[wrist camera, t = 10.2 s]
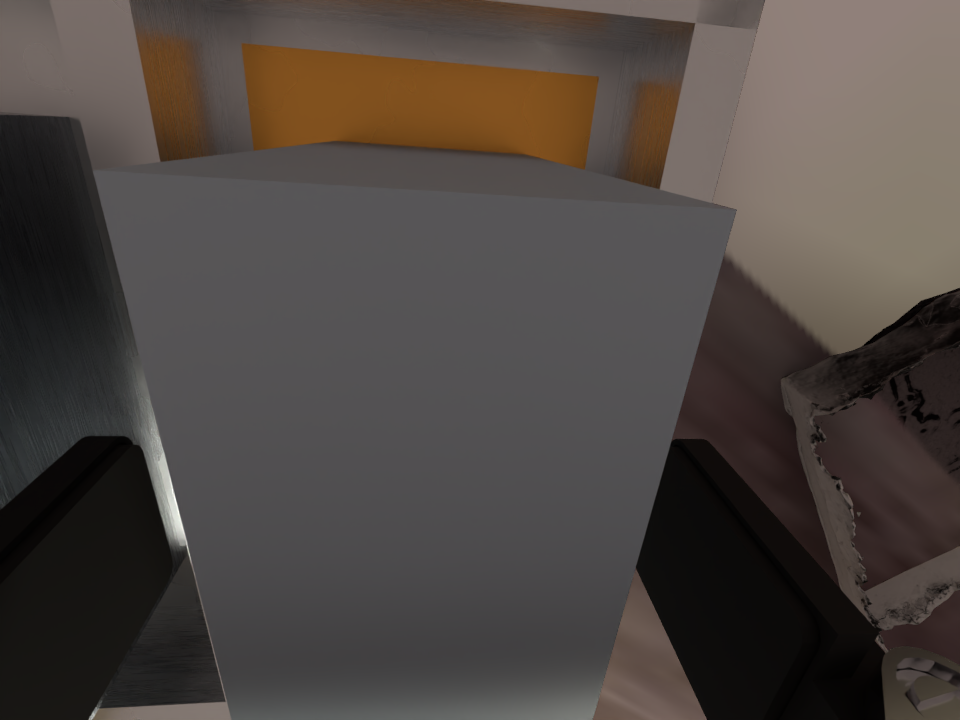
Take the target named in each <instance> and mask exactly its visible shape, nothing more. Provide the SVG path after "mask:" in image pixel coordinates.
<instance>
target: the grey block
mask: <svg viewBox="0 0 960 720" xmlns="http://www.w3.org/2000/svg"><path fill="white" fill-rule="evenodd" d="M93 173H94V177H95V181H96V185H97V189H98V193H99V197H100V201H101V205H102V209H103V213H104V217H105V221H106V224H107V228H108V232H109V236H110V240H111V244H112V248H113V252H114V256H115V260H116V264H117V268H118V272H119V276H120V280H121V284H122V288H123V292H124V296H125V300H126V304H127V308H128V312H129V316H130V320H131V324H132V327H133V331H134V335H135V339H136V343H137V347H138V351H139V355H140V359H141V363H142V367H143V371H144V375H145V379H146V383H147V387H148V391H149V395H150V399H151V403H152V407H153V411H154V415H155V419H156V423H157V427H158V431H159V434H160V438H161V442H162V446H163V450H164V454H165V458H166V462H167V466H168V470H169V474H170V478H171V482H172V486H173V490H174V494H175V498H176V502H177V506H178V510H179V514H180V518H181V522H182V526H183V530H184V534H185V537H186V541H187V545H188V549H189V553H190V557H191V561H192V565H193V569H194V573H195V577H196V581H197V585H198V589H199V593H200V597H201V601H202V605H203V609H204V613H205V617H206V621H207V625H208V629H209V633H210V637H211V641H212V644H213V648H214V652H215V656H216V660H217V664H218V668H219V672H220V676H221V680H222V684H223V688H224V692H225V696H226V700H227V704H228V708H229V712H230V716H231V720H593V717H594V713H595V710H596V706H597V703H598V699H599V695H600V692H601V688H602V685H603V681H604V678H605V674H606V671H607V667H608V664H609V660H610V657H611V653H612V649H613V646H614V642H615V639H616V635H617V632H618V628H619V625H620V621H621V618H622V614H623V610H624V607H625V603H626V600H627V596H628V593H629V589H630V586H631V582H632V579H633V575H634V572H635V568H636V564H637V561H638V557H639V554H640V550H641V547H642V543H643V540H644V536H645V533H646V529H647V526H648V522H649V518H650V515H651V511H652V508H653V504H654V501H655V497H656V494H657V490H658V487H659V483H660V480H661V476H662V472H663V469H664V465H665V462H666V458H667V455H668V451H669V448H670V444H671V441H672V437H673V434H674V430H675V426H676V423H677V419H678V416H679V412H680V409H681V405H682V402H683V398H684V395H685V391H686V388H687V384H688V380H689V377H690V373H691V370H692V366H693V363H694V359H695V356H696V352H697V349H698V345H699V342H700V338H701V334H702V331H703V327H704V324H705V320H706V317H707V313H708V310H709V306H710V303H711V299H712V296H713V292H714V288H715V285H716V281H717V278H718V274H719V271H720V267H721V264H722V260H723V257H724V253H725V250H726V246H727V242H728V239H729V235H730V231H731V228H732V225H733V221H734V217H735V214H736V211H737V210H736V209H732V208H728V207H725V206H721V205H717V204H713V203H709V202H706V201H702V200H698V199H694V198H690V197H686V196H683V195H679V194H675V193H671V192H667V191H664V190H660V189H656V188H652V187H648V186H645V185H641V184H637V183H633V182H629V181H625V180H622V179H618V178H614V177H610V176H606V175H603V174H599V173H595V172H591V171H587V170H583V169H580V168H576V167H572V166H568V165H564V164H561V163H557V162H553V161H549V160H545V159H542V158H538V157H534V156H530V155H526V154H514V153H500V152H486V151H472V150H458V149H443V148H429V147H415V146H401V145H387V144H373V143H359V142H345V141H329V142H321V143H313V144H305V145H297V146H288V147H280V148H272V149H264V150H255V151H247V152H239V153H231V154H223V155H214V156H206V157H198V158H190V159H181V160H173V161H165V162H157V163H148V164H140V165H132V166H124V167H116V168H107V169H99V170H93Z"/></svg>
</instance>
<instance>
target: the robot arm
mask: <svg viewBox="0 0 960 720" xmlns="http://www.w3.org/2000/svg"><path fill="white" fill-rule="evenodd" d="M172 567H173V560H172V555H171V551H170V548H169V544H168V540H167V537H166V533H165V529H164V526H163V522H162V518H161V515H160V511H159V507H158V504H157V500H156V496H155V492H154V489H153V485H152V481H151V478H150V474H149V470H148V467H147V463H146V459H145V456H144V452H143V450H142V448H141V447H140V446H139V445H133V442H132V441H131V440H130V439H129V438H128V437H126V436H86V437H83V438H82V439H80V440H79V441H78V442H76V443H75V444H74V445H73V446H72V447H71V448H70V449H69V450H67V451H66V452H65V453H64V454H63V455H62V456H61V457H59V458H58V459H57V460H56V461H55V462H54V463H53V464H52V465H50V466H49V467H48V468H47V469H46V470H45V471H44V472H43V473H41V474H40V475H39V476H38V477H37V478H36V479H35V480H34V481H32V482H31V483H30V484H29V485H28V486H27V487H26V488H24V489H23V490H22V491H21V492H20V493H19V494H18V495H17V496H15V497H14V498H13V499H12V500H11V501H10V502H9V503H8V504H6V505H5V506H4V507H3V508H2V509H1V510H0V720H88V719H89V718H90V716H91V714H92V712H93V711H94V709H95V707H96V706H97V704H98V702H99V700H100V699H101V697H102V695H103V693H104V692H105V690H106V688H107V686H108V685H109V683H110V681H111V680H112V678H113V676H114V674H115V673H116V671H117V669H118V667H119V666H120V664H121V662H122V661H123V659H124V657H125V655H126V654H127V652H128V650H129V648H130V647H131V645H132V643H133V642H134V640H135V638H136V636H137V635H138V633H139V631H140V629H141V628H142V626H143V624H144V623H145V621H146V619H147V617H148V616H149V614H150V612H151V610H152V609H153V607H154V605H155V604H156V602H157V600H158V598H159V597H160V595H161V593H162V591H163V590H164V588H165V586H166V585H167V583H168V581H169V579H170V576H171V573H172ZM636 569H637V571H638V573H639V576H640V578H641V580H642V582H643V584H644V586H645V588H646V590H647V593H648V595H649V597H650V599H651V601H652V603H653V605H654V607H655V610H656V612H657V614H658V616H659V618H660V620H661V622H662V625H663V627H664V629H665V631H666V633H667V635H668V637H669V639H670V642H671V644H672V646H673V648H674V650H675V652H676V654H677V656H678V659H679V661H680V663H681V665H682V667H683V669H684V671H685V674H686V676H687V678H688V680H689V682H690V684H691V686H692V688H693V691H694V693H695V695H696V697H697V699H698V701H699V703H700V705H701V708H702V710H703V712H704V714H705V716H706V718H707V720H960V665H958V664H956V663H954V662H953V661H951V660H949V659H947V658H945V657H943V656H940V655H938V654H935V653H932V652H930V651H927V650H924V649H920V648H914V647H908V646H903V647H897V648H892V649H890V650H889V651H888V652H887V653H886V654H885V653H884V651H883V650H882V649H881V648H880V647H879V646H878V644H877V643H876V642H875V639H876V638H877V636H878V635H879V632H878V631H877V630H876V628H875V627H874V626H873V625H872V624H871V623H870V622H869V621H868V619H867V618H866V617H865V616H864V615H863V614H862V613H861V612H860V611H859V609H858V608H857V607H856V606H855V605H854V604H853V603H852V602H851V600H850V599H849V598H848V597H847V596H846V595H845V594H844V593H843V591H842V590H841V589H840V588H839V587H838V586H837V585H836V584H835V583H834V581H833V580H832V579H831V578H830V577H829V576H828V575H827V574H826V572H825V571H824V570H823V569H822V568H821V567H820V566H819V565H818V563H817V562H816V561H815V560H814V559H813V558H812V557H811V556H810V554H809V553H808V552H807V551H806V550H805V549H804V548H803V547H802V546H801V544H800V543H799V542H798V541H797V540H796V539H795V538H794V537H793V535H792V534H791V533H790V532H789V531H788V530H787V529H786V528H785V526H784V525H783V524H782V523H781V522H780V521H779V520H778V519H777V518H776V516H775V515H774V514H773V513H772V512H771V511H770V510H769V509H768V507H767V506H766V505H765V504H764V503H763V502H762V501H761V500H760V498H759V497H758V496H757V495H756V494H755V493H754V492H753V491H752V490H751V488H750V487H749V486H748V485H747V484H746V483H745V482H744V481H743V479H742V478H741V477H740V476H739V475H738V474H737V473H736V472H735V470H734V469H733V468H732V467H731V466H730V465H729V464H728V463H727V461H726V460H725V459H724V458H723V457H722V456H721V455H720V454H719V453H718V451H717V450H716V449H715V448H714V447H713V446H712V445H711V444H710V443H709V442H708V441H707V440H704V439H675V440H673V441H672V442H671V444H670V448H669V451H668V455H667V458H666V462H665V465H664V469H663V472H662V476H661V480H660V483H659V487H658V490H657V494H656V497H655V501H654V504H653V508H652V511H651V515H650V518H649V522H648V526H647V529H646V533H645V536H644V540H643V543H642V547H641V550H640V554H639V557H638V561H637V564H636Z"/></svg>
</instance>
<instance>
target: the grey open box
mask: <svg viewBox="0 0 960 720" xmlns="http://www.w3.org/2000/svg"><path fill="white" fill-rule="evenodd" d="M764 2H765V0H0V510H1V509H2V508H3V507H4V506H5V505H6V504H8V503H9V502H10V501H11V500H12V499H13V498H14V497H15V496H17V495H18V494H19V493H20V492H21V491H22V490H23V489H24V488H26V487H27V486H28V485H29V484H30V483H31V482H32V481H34V480H35V479H36V478H37V477H38V476H39V475H40V474H41V473H43V472H44V471H45V470H46V469H47V468H48V467H49V466H50V465H52V464H53V463H54V462H55V461H56V460H57V459H58V458H59V457H61V456H62V455H63V454H64V453H65V452H66V451H67V450H69V449H70V448H71V447H72V446H73V445H74V444H75V443H76V442H78V441H79V440H80V439H82V438H83V437H86V436H126V437H128V438H129V439H130V440H131V441H132V442H133V445H139V446H140V447H141V448H142V450H143V452H144V456H145V459H146V463H147V467H148V470H149V474H150V478H151V481H152V485H153V489H154V492H155V496H156V500H157V504H158V507H159V511H160V515H161V518H162V522H163V526H164V529H165V533H166V537H167V540H168V544H169V548H170V551H171V555H172V560H173V567H172V573H171V576H170V579H169V581H168V583H167V585H166V586H165V588H164V590H163V591H162V593H161V595H160V597H159V598H158V600H157V602H156V604H155V605H154V607H153V609H152V610H151V612H150V614H149V616H148V617H147V619H146V621H145V623H144V624H143V626H142V628H141V629H140V631H139V633H138V635H137V636H136V638H135V640H134V642H133V643H132V645H131V647H130V648H129V650H128V652H127V654H126V655H125V657H124V659H123V661H122V662H121V664H120V666H119V667H118V669H117V671H116V673H115V674H114V676H113V678H112V680H111V681H110V683H109V685H108V686H107V688H106V690H105V692H104V693H103V695H102V697H101V699H100V700H99V702H98V704H97V706H96V707H95V709H94V711H93V712H92V714H91V716H90V718H89V719H88V720H231V716H230V712H229V708H228V704H227V700H226V696H225V692H224V688H223V684H222V680H221V676H220V672H219V668H218V664H217V660H216V656H215V652H214V648H213V644H212V641H211V637H210V633H209V629H208V625H207V621H206V617H205V613H204V609H203V605H202V601H201V597H200V593H199V589H198V585H197V581H196V577H195V573H194V569H193V565H192V561H191V557H190V553H189V549H188V545H187V541H186V537H185V534H184V530H183V526H182V522H181V518H180V514H179V510H178V506H177V502H176V498H175V494H174V490H173V486H172V482H171V478H170V474H169V470H168V466H167V462H166V458H165V454H164V450H163V446H162V442H161V438H160V434H159V431H158V427H157V423H156V419H155V415H154V411H153V407H152V403H151V399H150V395H149V391H148V387H147V383H146V379H145V375H144V371H143V367H142V363H141V359H140V355H139V351H138V347H137V343H136V339H135V335H134V331H133V327H132V324H131V320H130V316H129V312H128V308H127V304H126V300H125V296H124V292H123V288H122V284H121V280H120V276H119V272H118V268H117V264H116V260H115V256H114V252H113V248H112V244H111V240H110V236H109V232H108V228H107V224H106V221H105V217H104V213H103V209H102V205H101V201H100V197H99V193H98V189H97V185H96V181H95V177H94V173H93V170H99V169H107V168H116V167H124V166H132V165H140V164H148V163H157V162H165V161H173V160H181V159H190V158H198V157H206V156H214V155H223V154H231V153H239V152H247V151H255V150H264V149H272V148H280V147H288V146H297V145H305V144H313V143H321V142H329V141H345V142H359V143H373V144H387V145H401V146H415V147H429V148H443V149H458V150H472V151H486V152H500V153H514V154H526V155H530V156H534V157H538V158H542V159H545V160H549V161H553V162H557V163H561V164H564V165H568V166H572V167H576V168H580V169H583V170H587V171H591V172H595V173H599V174H603V175H606V176H610V177H614V178H618V179H622V180H625V181H629V182H633V183H637V184H641V185H645V186H648V187H652V188H656V189H660V190H664V191H667V192H671V193H675V194H679V195H683V196H686V197H690V198H694V199H698V200H702V201H706V202H709V203H712V201H713V197H714V193H715V189H716V185H717V182H718V178H719V174H720V170H721V166H722V162H723V159H724V155H725V151H726V147H727V144H728V140H729V136H730V132H731V128H732V124H733V121H734V117H735V113H736V109H737V105H738V101H739V98H740V94H741V90H742V86H743V82H744V79H745V75H746V70H747V67H748V63H749V59H750V56H751V52H752V48H753V44H754V40H755V37H756V33H757V29H758V25H759V21H760V17H761V13H762V10H763V6H764Z"/></svg>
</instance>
